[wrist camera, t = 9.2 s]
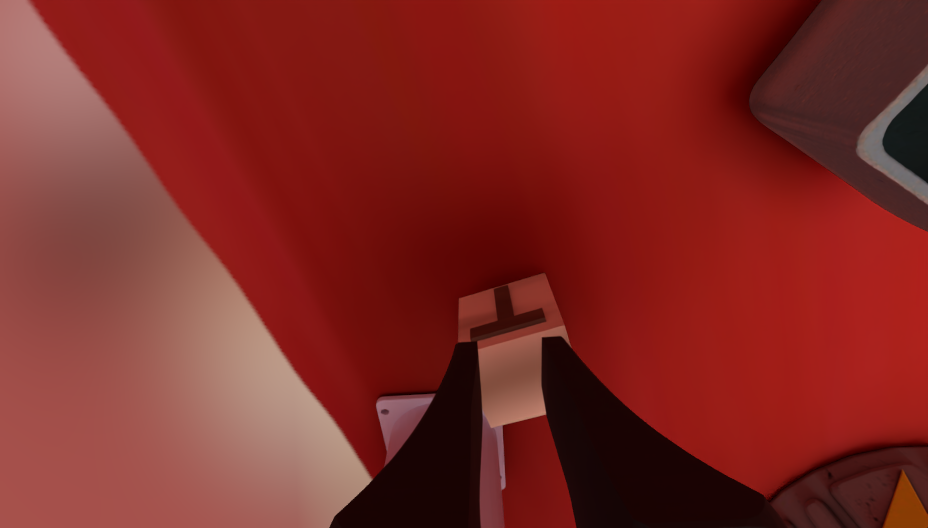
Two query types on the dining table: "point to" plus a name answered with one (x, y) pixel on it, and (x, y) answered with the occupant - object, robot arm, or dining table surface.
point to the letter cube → (511, 345)
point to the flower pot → (857, 98)
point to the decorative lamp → (861, 492)
